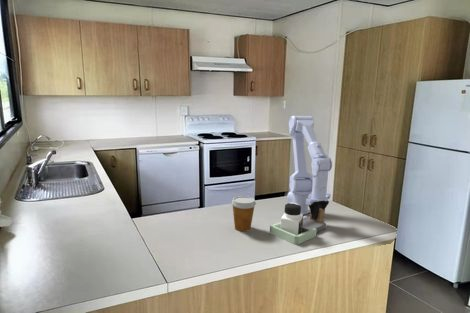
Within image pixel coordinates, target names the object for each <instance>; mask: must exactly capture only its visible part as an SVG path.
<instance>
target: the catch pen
mask: <svg viewBox="0 0 470 313" xmlns="http://www.w3.org/2000/svg"><path fill="white" fill-rule="evenodd" d="M280 225H281V221H278V222H276V223H273V224H271V225H269V233H270V234H271V235H274V236H275V237H277V238H280V239H282V240H285V241H286V242H289V243H292V245H293V244H294V245H295V246H298V245H300V244H302V243H305V242H306V241H308V240H311V239H314V238H315V237H317V232H316V231H317V229H315V228H314V229H311V230H309V231H306V232H304V233H301V234H299V235H297V236H296V235H294V234H292V233H289V232H287V231H285V230H282V229H280Z"/></svg>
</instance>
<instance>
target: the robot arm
mask: <svg viewBox="0 0 470 313" xmlns="http://www.w3.org/2000/svg"><path fill="white" fill-rule="evenodd" d="M314 126H315V120H314V118H313V116H312V115H291V116H290V118H289V120H288V130H289V135H290V136H292V149H293V151H292V152H293V162H294V172H293V173H292V174H291V175H290V176H289V183H288V184H289V186H288V187H289V190H290V191H289V192H288V193H287V197H286V204H288V203H296V204H299V205H300V206H301V214H300V215H303V216H304V215H307V214H310V211H311V216H312V219H315V220H316V219H317V217H318V212H319V209H320V208H322V209H325V210H326V208H327V207H328V205H329V203H330V201H329V200H330V199H331V193H328V192H327V188H328V181H329V180H328V177H329V172H330V171H331V170H332V168H333V162H332V158H330V156H328V155H327V154H326V153H325V151H324V148H323V146H322V144H321V143H320V142H318V140H317V137H316V134H315V131H314ZM304 139H305V140H306V142H307V143H308V146H307V151H308V153H309V154H308V155H309V156H310V158H311V163H310V164H311V174H310V173H309V172H308V171H307V165H306V164H307V163H306V153H305V152H306V151H305V141H304Z"/></svg>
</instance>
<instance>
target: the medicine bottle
mask: <svg viewBox="0 0 470 313" xmlns="http://www.w3.org/2000/svg"><path fill="white" fill-rule="evenodd" d="M300 214H301V206H300V205H299V204H296V203H288V204H287V203H286V204H284V213H283V215H282V216H281V218H280V222H281V225H280V229H282V230H285V231H287V232H289V233H292V234H294V235H296V236H297V235H299V234H302V225H303V219H304V215H300Z"/></svg>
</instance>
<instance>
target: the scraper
mask: <svg viewBox="0 0 470 313" xmlns="http://www.w3.org/2000/svg"><path fill="white" fill-rule="evenodd" d="M325 214H326V208H325V209H322V208H320V209H319V212H318V217H317V219H316V220H315V219H312V216H311V211H310V213H309V216H306V217H303V225H302V233H304V232H306V231H309V230H311V229H314V228H315V229H317V231H316V233H319V232H320V231H323V230H325V229H327V223H326V222H325ZM302 233H301V234H302Z"/></svg>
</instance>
